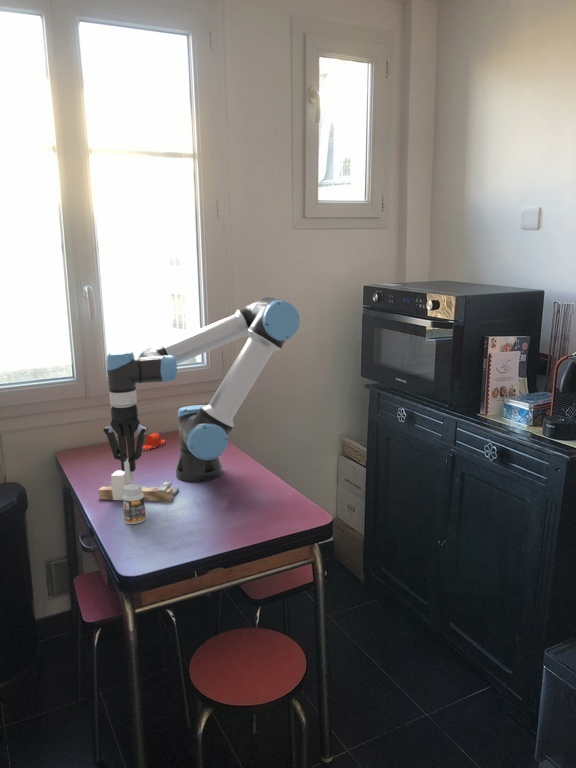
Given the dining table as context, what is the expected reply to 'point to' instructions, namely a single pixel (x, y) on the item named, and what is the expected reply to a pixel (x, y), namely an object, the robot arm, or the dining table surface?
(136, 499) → the pill bottle
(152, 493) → the beam
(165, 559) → the dining table surface
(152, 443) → the bracket
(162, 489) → the fixed leg
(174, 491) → the hole plate
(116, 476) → the block
